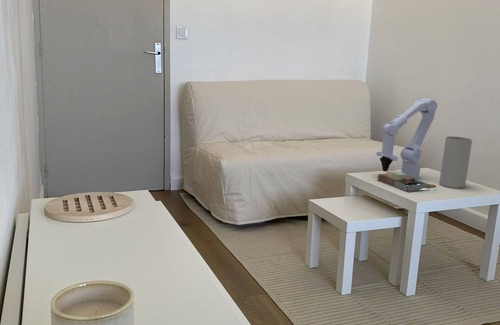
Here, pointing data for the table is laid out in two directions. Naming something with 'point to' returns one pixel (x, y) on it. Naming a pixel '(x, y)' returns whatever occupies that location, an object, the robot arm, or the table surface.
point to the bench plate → (394, 179)
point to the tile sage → (400, 175)
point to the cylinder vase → (455, 162)
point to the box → (411, 188)
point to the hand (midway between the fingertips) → (385, 171)
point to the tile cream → (391, 172)
